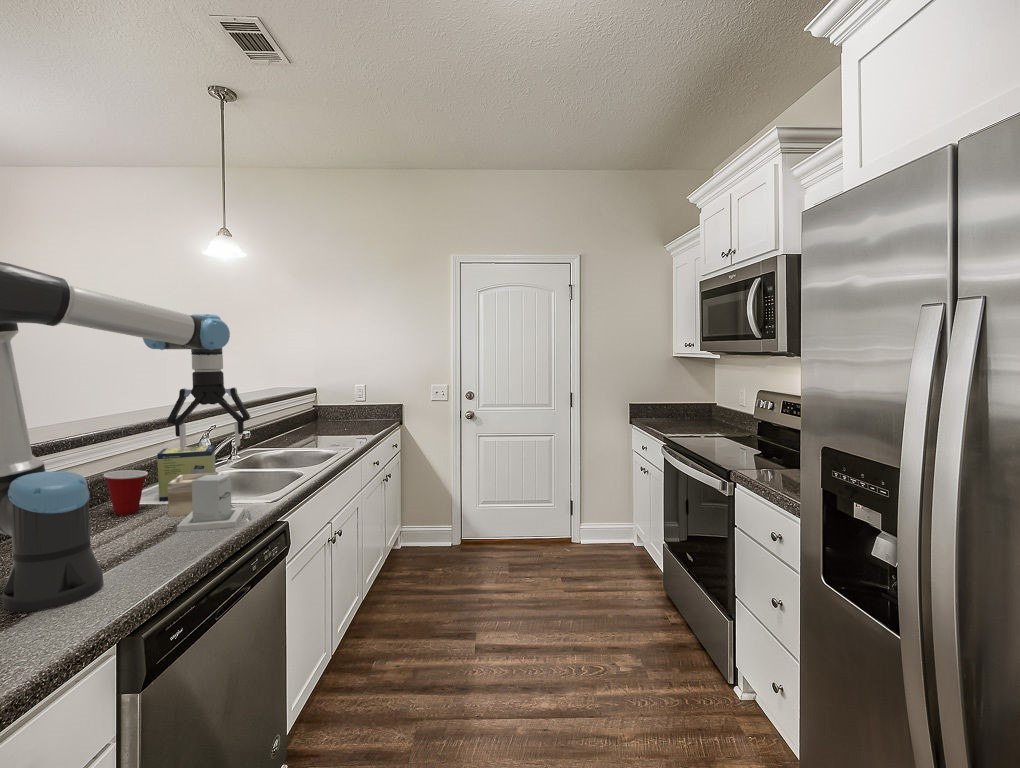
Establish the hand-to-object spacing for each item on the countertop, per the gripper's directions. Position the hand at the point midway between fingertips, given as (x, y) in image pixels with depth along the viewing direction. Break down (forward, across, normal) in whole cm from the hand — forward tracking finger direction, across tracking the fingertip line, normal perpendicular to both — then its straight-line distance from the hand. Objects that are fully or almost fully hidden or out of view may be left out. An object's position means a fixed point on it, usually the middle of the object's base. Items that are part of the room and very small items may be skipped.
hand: (210, 447), depth 151 cm
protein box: (+22, +15, -33) cm, 42 cm away
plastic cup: (+21, +27, -17) cm, 38 cm away
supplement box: (+21, 0, 0) cm, 21 cm away
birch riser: (+21, +8, -15) cm, 27 cm away
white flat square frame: (+21, 0, 0) cm, 21 cm away
